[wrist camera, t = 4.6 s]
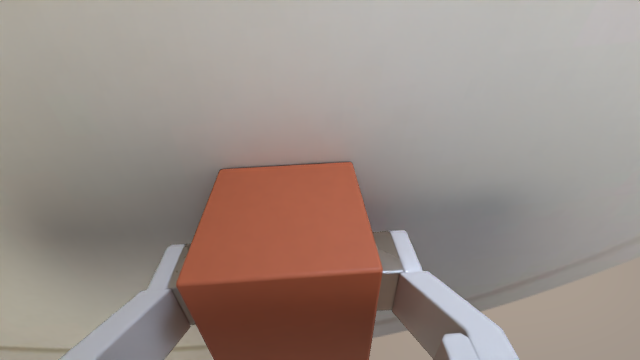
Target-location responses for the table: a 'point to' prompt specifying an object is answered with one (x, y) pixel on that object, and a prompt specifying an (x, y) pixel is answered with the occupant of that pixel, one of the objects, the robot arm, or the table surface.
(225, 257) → the block
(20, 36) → the table surface
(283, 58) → the table surface
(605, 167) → the table surface
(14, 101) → the table surface
